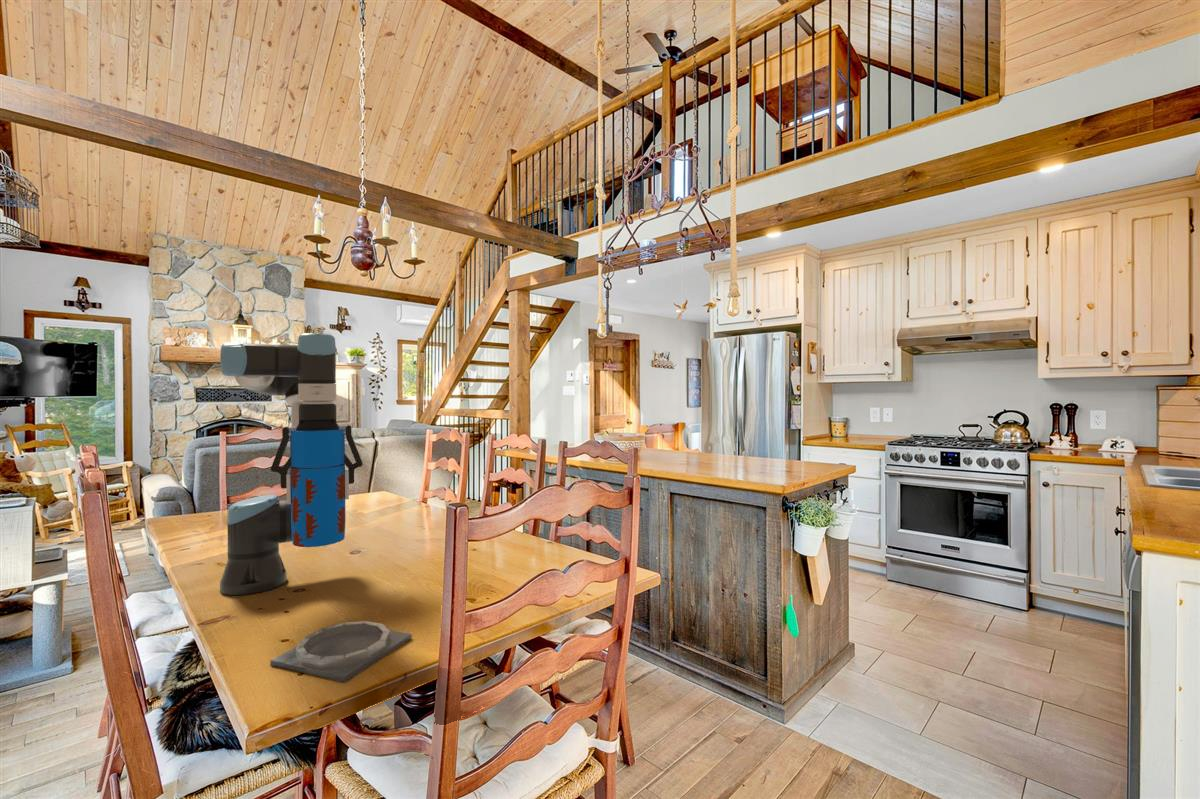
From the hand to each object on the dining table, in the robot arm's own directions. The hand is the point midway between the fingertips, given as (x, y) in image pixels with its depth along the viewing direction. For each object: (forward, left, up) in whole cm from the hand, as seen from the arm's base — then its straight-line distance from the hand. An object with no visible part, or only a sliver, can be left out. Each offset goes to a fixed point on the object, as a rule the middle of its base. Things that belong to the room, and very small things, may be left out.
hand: (318, 500), depth 122 cm
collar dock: (+16, -9, -27) cm, 33 cm away
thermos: (0, 0, -9) cm, 9 cm away
